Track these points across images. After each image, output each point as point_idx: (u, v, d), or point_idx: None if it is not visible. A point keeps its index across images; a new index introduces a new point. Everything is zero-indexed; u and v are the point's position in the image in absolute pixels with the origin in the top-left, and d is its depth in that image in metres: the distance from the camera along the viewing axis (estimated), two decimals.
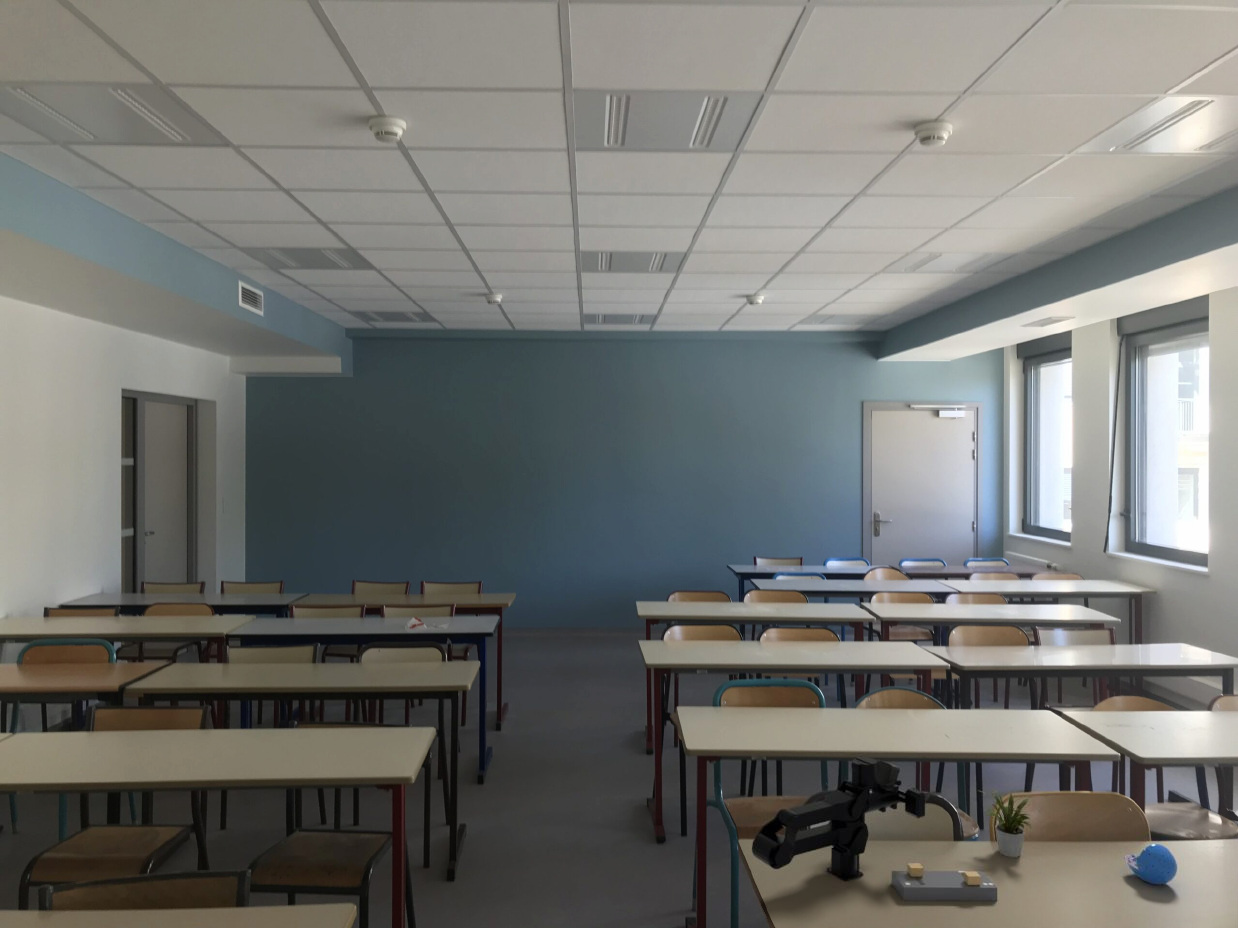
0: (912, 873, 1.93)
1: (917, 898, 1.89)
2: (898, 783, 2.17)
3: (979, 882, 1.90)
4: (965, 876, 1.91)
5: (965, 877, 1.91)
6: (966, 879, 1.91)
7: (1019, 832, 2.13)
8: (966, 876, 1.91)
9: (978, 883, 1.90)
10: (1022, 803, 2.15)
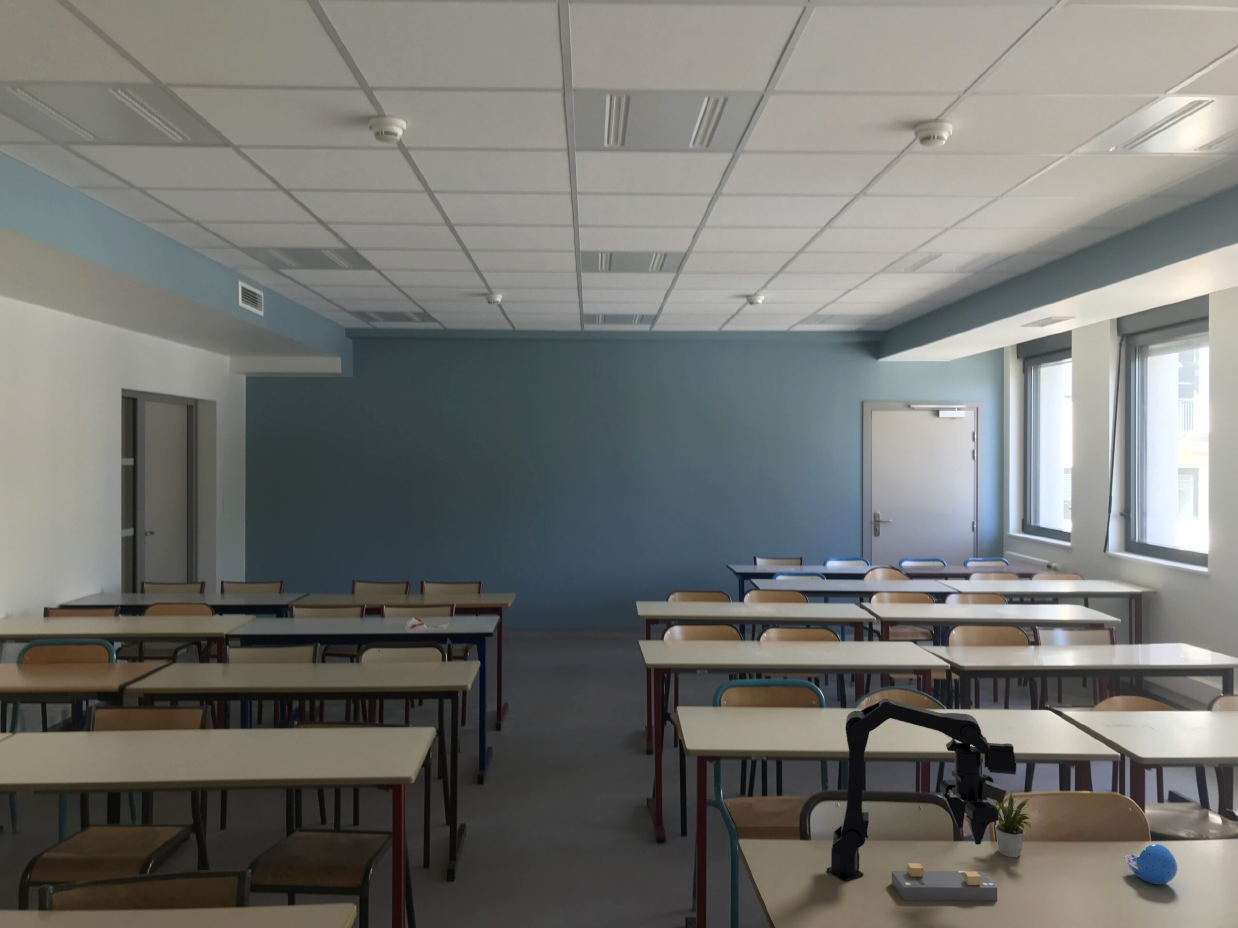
0: (912, 873, 1.93)
1: (917, 898, 1.89)
2: (960, 823, 1.97)
3: (979, 882, 1.90)
4: (965, 876, 1.91)
5: (965, 877, 1.91)
6: (966, 879, 1.91)
7: (1019, 832, 2.13)
8: (966, 876, 1.91)
9: (978, 883, 1.90)
10: (1022, 803, 2.15)
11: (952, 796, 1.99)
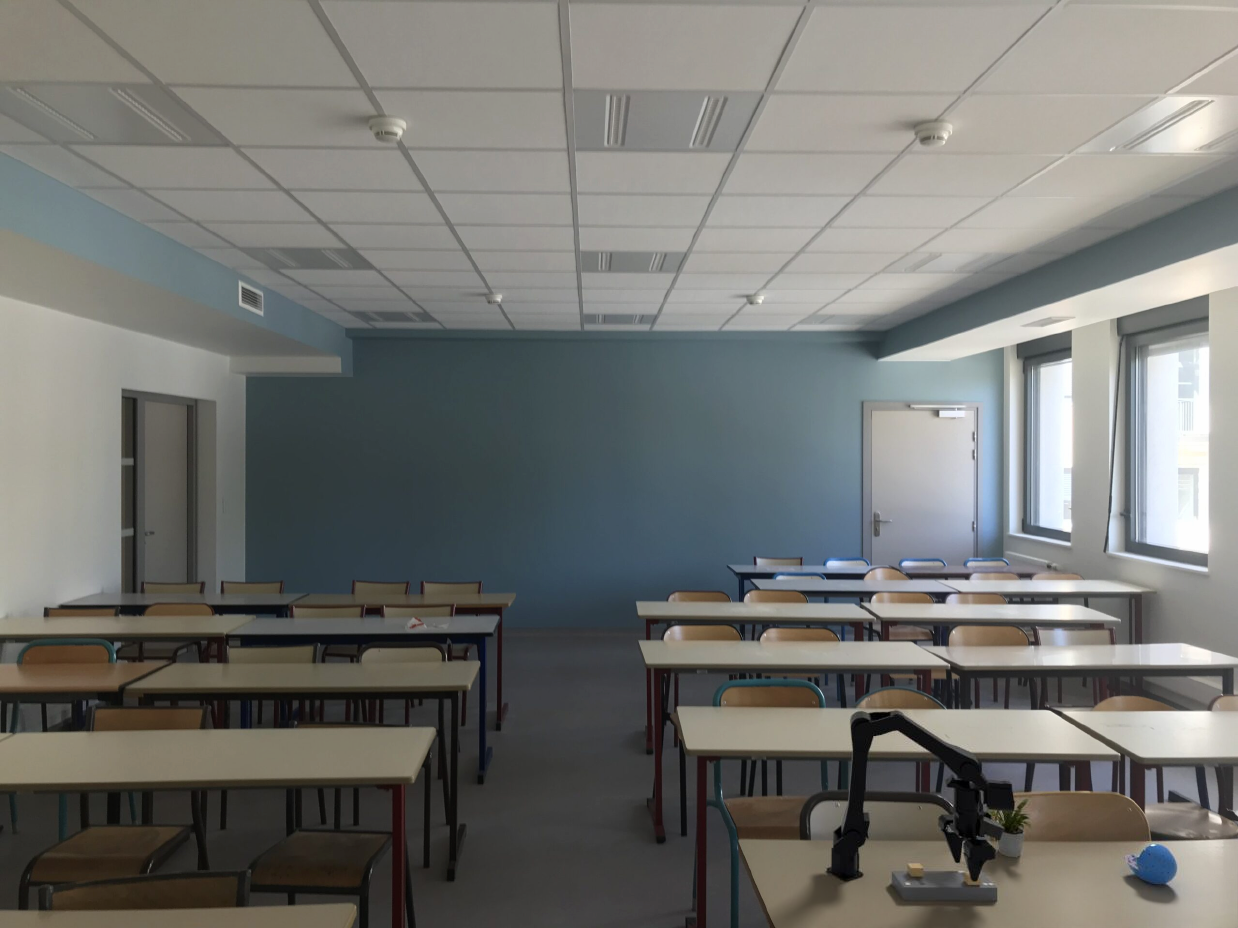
0: (912, 873, 1.93)
1: (917, 898, 1.89)
2: (957, 858, 1.99)
3: (979, 882, 1.90)
4: (965, 876, 1.91)
5: (965, 877, 1.91)
6: (966, 879, 1.91)
7: (1019, 832, 2.13)
8: (966, 876, 1.91)
9: (978, 883, 1.90)
10: (1022, 803, 2.15)
11: (950, 831, 2.00)
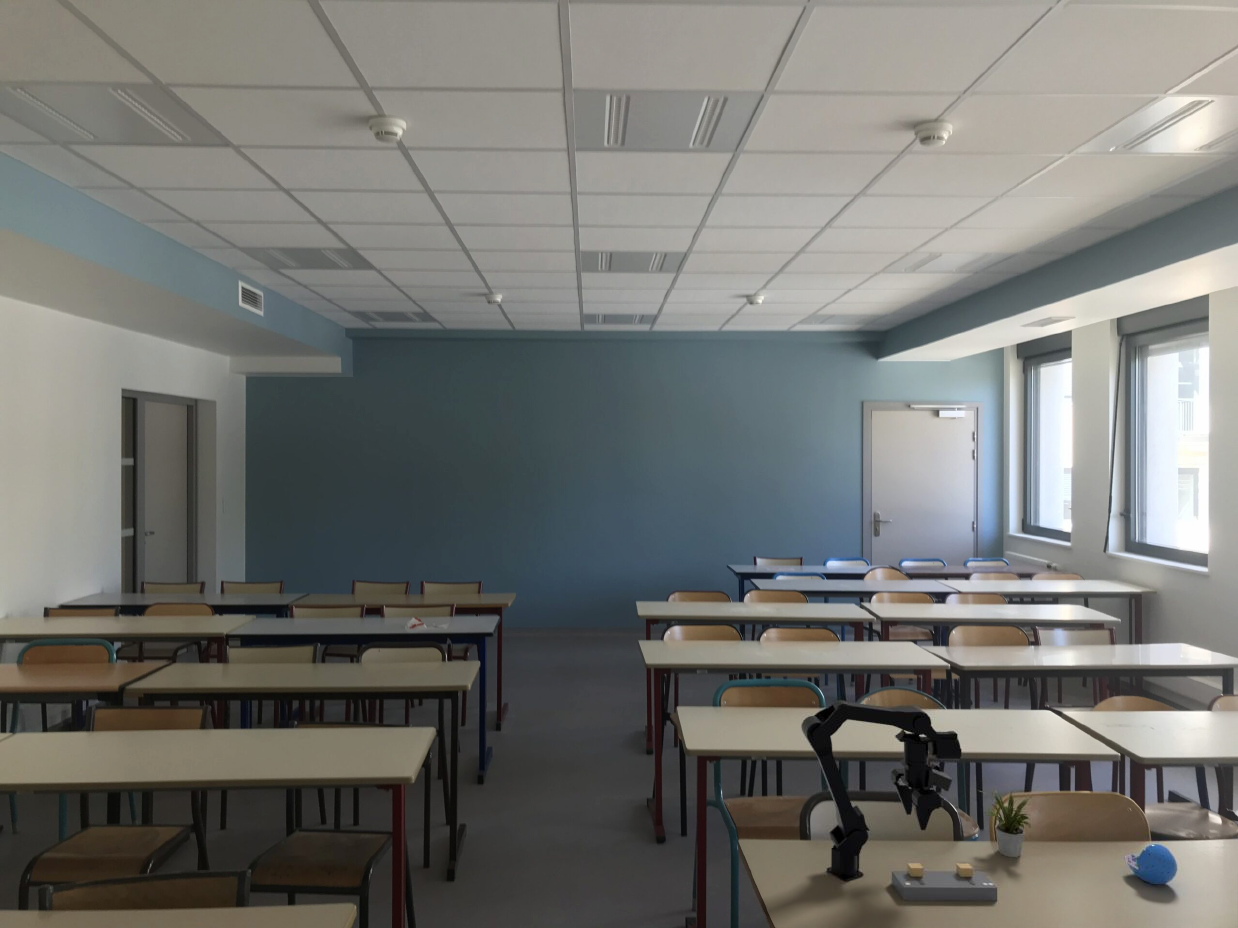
0: (912, 873, 1.93)
1: (917, 898, 1.89)
2: (908, 810, 2.06)
3: (971, 874, 1.94)
4: (958, 868, 1.95)
5: (957, 869, 1.95)
6: (959, 871, 1.95)
7: (1019, 832, 2.13)
8: (959, 868, 1.95)
9: (970, 875, 1.94)
10: (1022, 803, 2.15)
11: (902, 784, 2.07)
